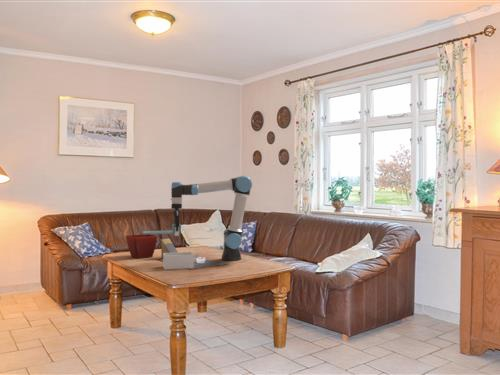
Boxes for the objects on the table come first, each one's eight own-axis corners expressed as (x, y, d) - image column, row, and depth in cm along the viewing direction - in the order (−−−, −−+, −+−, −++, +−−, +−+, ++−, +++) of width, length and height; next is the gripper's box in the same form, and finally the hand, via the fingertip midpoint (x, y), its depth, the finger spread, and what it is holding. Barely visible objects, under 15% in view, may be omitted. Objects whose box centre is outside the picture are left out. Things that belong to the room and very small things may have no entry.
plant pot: (125, 256, 356) (125, 235, 355) (148, 254, 367) (148, 233, 367) (134, 259, 340) (134, 237, 340) (158, 257, 351) (157, 236, 351)
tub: (191, 265, 316) (191, 251, 316) (193, 269, 305) (193, 254, 305) (163, 267, 311) (163, 252, 311) (164, 270, 300) (164, 255, 300)
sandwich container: (174, 260, 337) (174, 241, 337) (161, 258, 347) (161, 239, 347) (182, 259, 344) (182, 239, 344) (169, 257, 354) (169, 238, 353)
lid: (179, 231, 332) (179, 223, 332) (181, 233, 320) (181, 225, 320) (143, 232, 325) (143, 224, 325) (143, 234, 313) (143, 226, 313)
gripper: (170, 202, 332) (170, 234, 332) (172, 203, 315) (172, 236, 316) (180, 202, 334) (180, 233, 334) (183, 203, 317) (183, 236, 318)
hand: (176, 235), depth 325 cm, fingers closed on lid, 4 cm apart
